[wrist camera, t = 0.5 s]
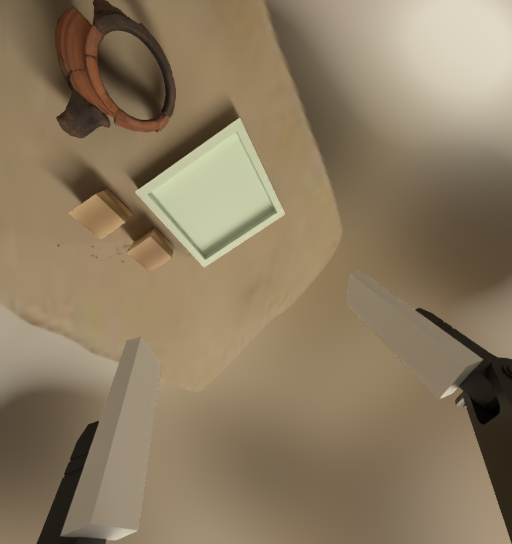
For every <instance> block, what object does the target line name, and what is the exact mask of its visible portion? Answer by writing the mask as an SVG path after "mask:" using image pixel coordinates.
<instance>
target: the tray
mask: <svg viewBox="0 0 512 544" xmlns="http://www.w3.org/2000/svg"><path fill="white" fill-rule="evenodd" d="M135 193H136V194H137V195H138V196H139V197H140V198H141V199H142V200H143V201H144V203H145V204H146V205H147V206H148V207H149V208H150V209H151V210H152V211H153V212H154V213H155V215H156V216H157V217H158V218H159V219H160V220H161V221H162V222H163V223H164V224H165V225H166V227H167V228H168V229H169V230H170V231H171V232H172V233H173V234H174V235H175V236H176V237H177V239H178V240H179V241H180V242H181V243H182V244H183V245H184V246H185V247H186V248H187V250H188V251H189V252H190V253H191V254H192V255H193V256H194V257H195V258H196V259H197V260H198V262H199V263H200V264H201V265H202V266H203V267H206V266H207V265H209V264H210V263H212V262H213V261H215V260H216V259H218V258H219V257H221V256H222V255H224V254H225V253H227V252H228V251H230V250H231V249H233V248H234V247H236V246H238V245H239V244H241V243H242V242H244V241H245V240H247V239H248V238H250V237H251V236H253V235H254V234H256V233H257V232H259V231H260V230H262V229H263V228H265V227H266V226H268V225H269V224H271V223H272V222H274V221H276V220H277V219H279V218H280V217H282V216H283V215H285V213H284V211H283V209H282V206H281V204H280V202H279V200H278V198H277V196H276V194H275V191H274V189H273V187H272V185H271V183H270V181H269V179H268V177H267V174H266V172H265V170H264V168H263V166H262V164H261V162H260V160H259V157H258V155H257V153H256V151H255V149H254V147H253V145H252V142H251V140H250V138H249V136H248V134H247V132H246V130H245V128H244V125H243V123H242V121H241V119H240V118H238V119H237V120H235V121H234V122H233V123H231V124H230V125H228V126H227V127H226V128H224V129H223V130H221V131H220V132H219V133H217V134H216V135H214V136H213V137H212V138H210V139H209V140H207V141H206V142H205V143H203V144H202V145H200V146H199V147H197V148H196V149H195V150H193V151H192V152H190V153H189V154H188V155H186V156H185V157H183V158H182V159H181V160H179V161H178V162H176V163H175V164H174V165H172V166H171V167H169V168H168V169H167V170H165V171H164V172H162V173H161V174H160V175H158V176H157V177H155V178H154V179H153V180H151V181H150V182H148V183H147V184H145V185H144V186H143V187H141V188H140V189H138V190H137V191H136V192H135Z"/></svg>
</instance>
